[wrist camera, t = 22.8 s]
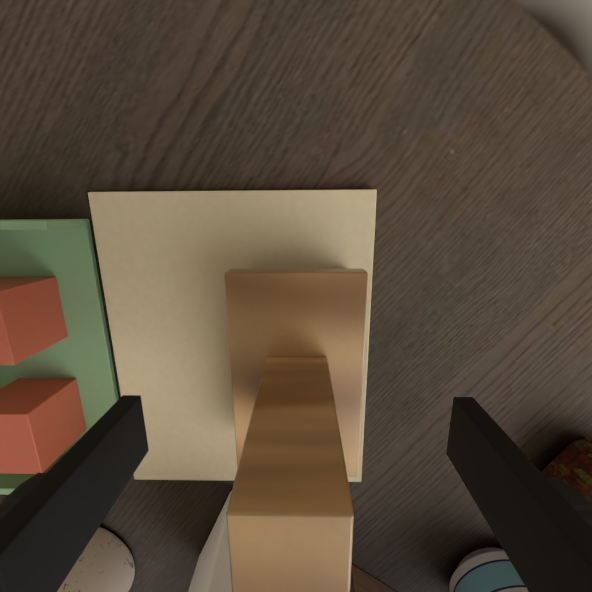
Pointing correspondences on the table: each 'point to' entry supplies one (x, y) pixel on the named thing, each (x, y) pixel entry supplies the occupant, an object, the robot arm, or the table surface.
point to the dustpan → (76, 308)
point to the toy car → (574, 467)
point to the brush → (294, 425)
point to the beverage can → (486, 573)
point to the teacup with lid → (102, 566)
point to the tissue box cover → (366, 582)
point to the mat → (208, 301)
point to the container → (214, 560)
